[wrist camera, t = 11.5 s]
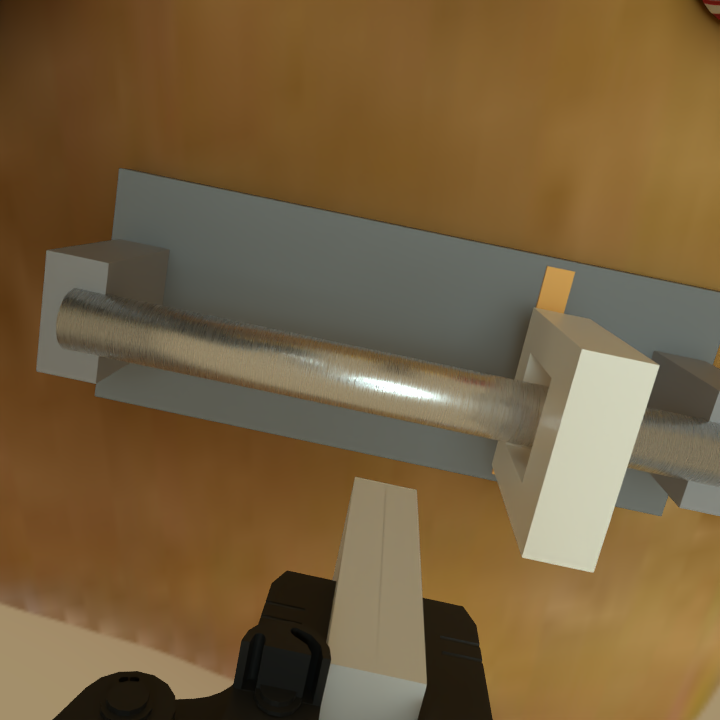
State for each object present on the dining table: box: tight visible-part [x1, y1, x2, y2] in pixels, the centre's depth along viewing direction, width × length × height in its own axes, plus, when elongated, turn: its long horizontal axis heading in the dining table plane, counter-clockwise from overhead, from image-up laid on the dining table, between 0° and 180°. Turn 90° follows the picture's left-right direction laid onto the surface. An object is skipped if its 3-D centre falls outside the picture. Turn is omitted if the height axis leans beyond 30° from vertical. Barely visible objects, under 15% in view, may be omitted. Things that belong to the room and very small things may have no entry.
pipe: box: [56, 288, 720, 487], centre depth 32 cm, size 32×3×3 cm, turn 79°
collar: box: [492, 307, 660, 573], centre depth 32 cm, size 3×9×10 cm, turn 169°
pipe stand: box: [36, 168, 720, 516], centre depth 37 cm, size 36×14×10 cm, turn 79°
